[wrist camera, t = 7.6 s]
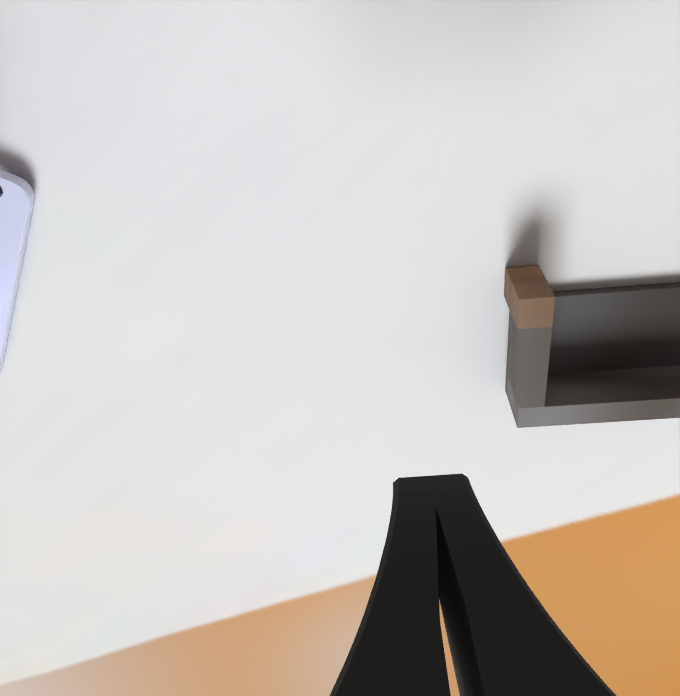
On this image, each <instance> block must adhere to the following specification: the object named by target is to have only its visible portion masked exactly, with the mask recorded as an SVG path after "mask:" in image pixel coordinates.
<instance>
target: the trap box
mask: <svg viewBox="0 0 680 696" xmlns="http://www.w3.org/2000/svg"><path fill="white" fill-rule="evenodd" d="M504 297H505V299H506V302H507V304H508V307H509V309H510V315H509V333H508V351H507V370H506V388H505V391H506V394H507V397H508V400H509V403H510V406H511V409H512V412H513V415H514V419H515V422H516V425H517V428H521V427H537V426H553V425H569V424H585V423H601V422H617V421H634V420H650V419H666V418H680V283H667V284H654V285H641V286H628V287H615V288H602V289H589V290H576V291H562V292H552V290H551V288H550V286H549V284H548V282H547V280H546V279H545V277H544V275H543V273H542V271H541V269H540V267H539V265H534V266H521V267H509V268H505V289H504Z"/></svg>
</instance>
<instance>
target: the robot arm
mask: <svg viewBox="0 0 680 696" xmlns="http://www.w3.org/2000/svg"><path fill="white" fill-rule="evenodd" d="M0 186H1V188H2V190H3V194H1V193H0V376H1V370H2V365H3V360H4V355H5V349H6V344H7V339H8V334H9V329H10V323H11V318H12V313H13V308H14V302H15V297H16V292H17V287H18V281H19V276H20V271H21V266H22V261H23V255H24V250H25V245H26V240H27V234H28V229H29V224H30V219H31V214H32V208H33V203H34V192H33V190H32V188H31V186H30V185H29V184H28V183H27V182H26V181H25V180H23V179H22V178H20V177H18V176H15V175H13V174H10V173H8V172H5V171H3V170H0ZM439 599H440V604H441V609H442V613H443V618H444V623H445V628H446V632H447V637H448V642H449V646H450V651H451V655H452V660H453V665H454V670H455V674H456V679H457V684H458V688H459V693H460V696H616V695H615V694H614V693H613V692H612V690H611V689H610V688H608V686H607V685H606V684H605V683H604V682H603V681H602V679H601V678H600V677H599V676H598V675H597V674H596V672H595V671H594V670H593V669H592V668H591V667H590V665H589V664H588V663H587V662H586V661H585V660H584V658H583V657H582V656H581V655H580V654H579V652H578V651H577V650H576V649H575V648H574V646H573V645H572V644H571V643H570V641H569V640H568V639H567V638H566V636H565V635H564V634H563V633H562V631H561V630H560V629H559V628H558V626H557V625H556V624H555V622H554V621H553V620H552V618H551V617H550V616H549V614H548V613H547V612H546V610H545V609H544V607H543V606H542V605H541V603H540V602H539V600H538V599H537V598H536V596H535V595H534V594H533V592H532V591H531V589H530V588H529V586H528V585H527V583H526V582H525V580H524V579H523V578H522V576H521V574H520V573H519V572H518V570H517V568H516V567H515V565H514V563H513V562H512V560H511V559H510V558H509V556H508V554H507V552H506V551H505V549H504V548H503V546H502V544H501V543H500V541H499V539H498V538H497V536H496V534H495V532H494V531H493V529H492V527H491V525H490V523H489V522H488V520H487V518H486V516H485V514H484V512H483V510H482V508H481V506H480V504H479V502H478V500H477V498H476V496H475V494H474V492H473V489H472V487H471V485H470V482H469V479H468V478H467V477H466V476H465V475H463V474H451V475H436V476H421V477H406V478H398V479H397V480H396V481H395V482H393V503H392V511H391V518H390V523H389V528H388V533H387V538H386V542H385V546H384V550H383V554H382V558H381V562H380V566H379V569H378V573H377V576H376V580H375V583H374V586H373V589H372V592H371V595H370V598H369V601H368V604H367V607H366V610H365V613H364V616H363V619H362V621H361V624H360V626H359V629H358V632H357V634H356V637H355V640H354V642H353V644H352V647H351V649H350V652H349V654H348V656H347V659H346V661H345V663H344V666H343V668H342V670H341V672H340V675H339V677H338V679H337V681H336V684H335V685H334V687H333V690H332V692H331V694H330V696H451V695H450V689H449V682H448V675H447V668H446V661H445V654H444V647H443V640H442V633H441V626H440V614H439Z"/></svg>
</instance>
